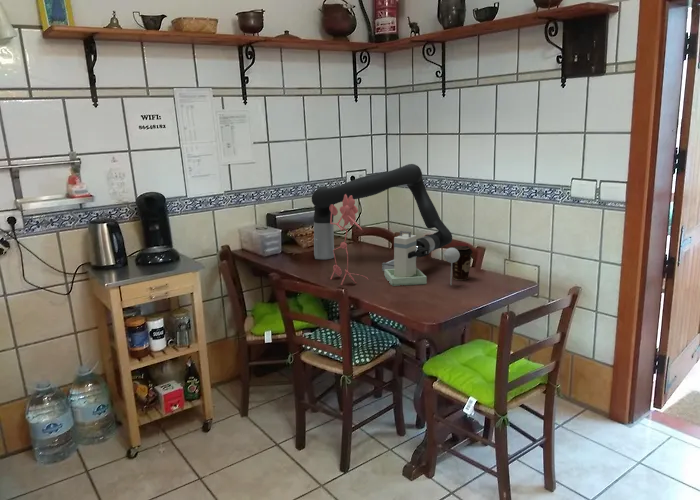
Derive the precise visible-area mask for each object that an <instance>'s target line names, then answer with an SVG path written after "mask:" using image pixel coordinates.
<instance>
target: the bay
mask: <svg viewBox="0 0 700 500" xmlns="http://www.w3.org/2000/svg"><path fill="white" fill-rule="evenodd" d="M384 269H394V259H392V260H389V261H387V262H382V263H381V270H382V272H384Z"/></svg>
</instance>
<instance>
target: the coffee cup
mask: <svg viewBox="0 0 700 500" xmlns="http://www.w3.org/2000/svg"><path fill="white" fill-rule="evenodd" d="M452 248H455V249H457V250H458V251H459V253H460V257H459V259H458V260H457V261H456V262H454V263H452V280H453V279H454V280H456V281H466V280H469V275H470V269H471V262H472V254H473V250H472V249H471V247H470V246H468V245H455V246H453V247H452Z"/></svg>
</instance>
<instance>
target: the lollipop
mask: <svg viewBox="0 0 700 500" xmlns="http://www.w3.org/2000/svg"><path fill="white" fill-rule="evenodd" d="M443 257H444V260H445V261H446V262H448V263H450V283H449V285H450V286H452V285H453V284H452V281H453V270H452V263H454V262H456V261H457V260H458V259H459V257H460V253H459V251H458V250H457V249H455V248H453V247H448V248H447V249H445V251H444V253H443Z"/></svg>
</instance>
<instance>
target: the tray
mask: <svg viewBox="0 0 700 500" xmlns="http://www.w3.org/2000/svg"><path fill="white" fill-rule="evenodd" d="M383 273H384V274H383V275H384V276H385V277H384V278H385V280H386V281H387V282H388V281H389V282H388V283H389V285H390V286H391V285H392V286H391V287H399V286H400V285H402V286H403V285H404V286H419V285H427V284H428V283H427V279H428V278H427V275H425V274H424V273H423V271H421V270H420V269H419V268H418V267H416V274H414V275H412V276H410V277H403V278H400V277H394V269H384V271H383ZM402 286H400V287H402Z"/></svg>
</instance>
